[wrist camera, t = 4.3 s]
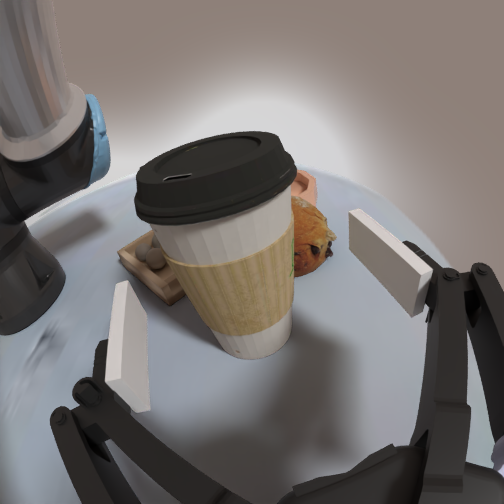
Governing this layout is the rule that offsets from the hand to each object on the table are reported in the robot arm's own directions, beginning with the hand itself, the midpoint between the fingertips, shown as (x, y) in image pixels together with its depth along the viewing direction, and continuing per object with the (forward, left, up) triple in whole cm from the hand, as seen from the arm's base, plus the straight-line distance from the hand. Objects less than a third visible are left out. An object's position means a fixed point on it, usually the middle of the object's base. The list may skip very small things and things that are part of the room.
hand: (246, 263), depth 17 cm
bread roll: (-8, +12, -10) cm, 17 cm away
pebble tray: (-18, +3, -9) cm, 21 cm away
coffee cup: (-3, +2, -10) cm, 10 cm away
